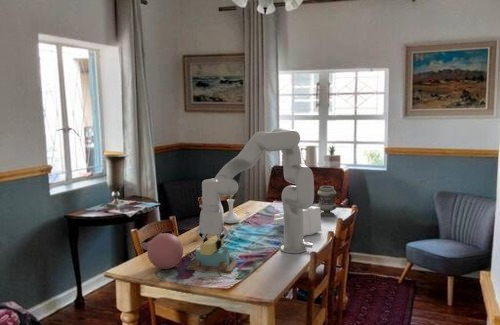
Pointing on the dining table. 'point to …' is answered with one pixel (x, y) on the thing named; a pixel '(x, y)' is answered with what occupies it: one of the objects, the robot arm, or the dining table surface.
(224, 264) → the jig
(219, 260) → the teal notched block
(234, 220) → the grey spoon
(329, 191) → the apothecary jar
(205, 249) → the tan wooden bar
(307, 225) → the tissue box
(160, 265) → the balloon
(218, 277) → the dining table surface
